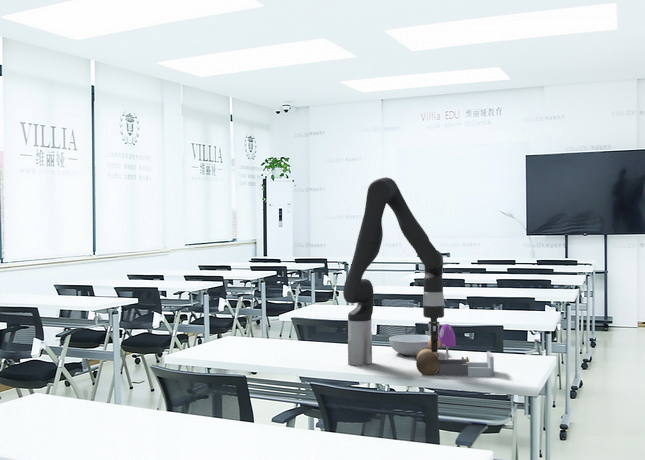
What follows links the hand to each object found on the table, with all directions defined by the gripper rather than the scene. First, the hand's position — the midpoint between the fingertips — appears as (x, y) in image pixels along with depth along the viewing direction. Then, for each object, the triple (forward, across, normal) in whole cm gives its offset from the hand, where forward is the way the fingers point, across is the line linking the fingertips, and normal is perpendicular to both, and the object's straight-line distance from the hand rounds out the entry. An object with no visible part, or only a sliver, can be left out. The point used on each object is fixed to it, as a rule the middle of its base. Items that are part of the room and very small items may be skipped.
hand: (434, 350), depth 233 cm
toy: (+8, +20, -6) cm, 22 cm away
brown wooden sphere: (+8, 0, +2) cm, 8 cm away
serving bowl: (+8, +36, +8) cm, 37 cm away
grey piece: (+8, 0, -11) cm, 14 cm away
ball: (-3, 0, 0) cm, 3 cm away
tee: (+8, +8, -12) cm, 16 cm away
